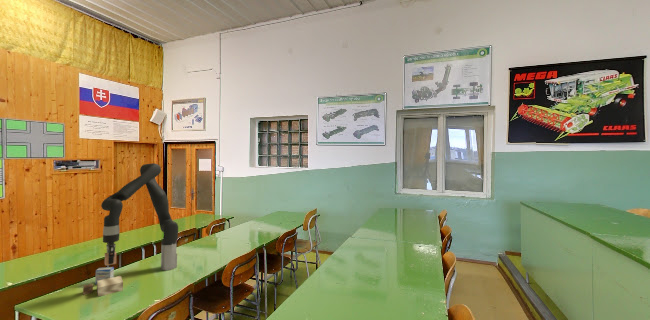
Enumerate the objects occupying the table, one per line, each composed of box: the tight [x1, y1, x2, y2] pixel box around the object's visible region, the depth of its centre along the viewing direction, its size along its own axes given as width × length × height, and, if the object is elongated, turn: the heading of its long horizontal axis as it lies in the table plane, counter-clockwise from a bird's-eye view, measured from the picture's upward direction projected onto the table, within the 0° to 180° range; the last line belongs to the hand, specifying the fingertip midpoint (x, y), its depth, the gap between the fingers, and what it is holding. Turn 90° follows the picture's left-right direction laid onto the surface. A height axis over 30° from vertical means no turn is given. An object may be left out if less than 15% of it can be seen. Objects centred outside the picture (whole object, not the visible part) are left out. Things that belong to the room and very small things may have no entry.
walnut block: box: [82, 283, 94, 296], centre depth 153 cm, size 4×4×4 cm
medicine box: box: [94, 266, 115, 285], centre depth 166 cm, size 8×4×9 cm, turn 105°
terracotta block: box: [104, 250, 117, 267], centre depth 157 cm, size 5×5×6 cm
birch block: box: [96, 275, 124, 298], centre depth 157 cm, size 11×11×5 cm
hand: (110, 262), depth 157 cm, fingers closed on terracotta block, 5 cm apart
